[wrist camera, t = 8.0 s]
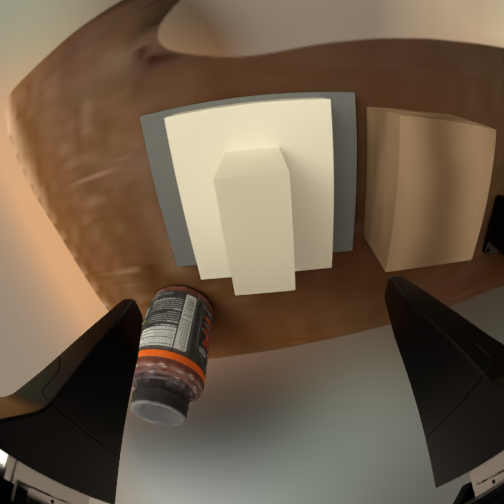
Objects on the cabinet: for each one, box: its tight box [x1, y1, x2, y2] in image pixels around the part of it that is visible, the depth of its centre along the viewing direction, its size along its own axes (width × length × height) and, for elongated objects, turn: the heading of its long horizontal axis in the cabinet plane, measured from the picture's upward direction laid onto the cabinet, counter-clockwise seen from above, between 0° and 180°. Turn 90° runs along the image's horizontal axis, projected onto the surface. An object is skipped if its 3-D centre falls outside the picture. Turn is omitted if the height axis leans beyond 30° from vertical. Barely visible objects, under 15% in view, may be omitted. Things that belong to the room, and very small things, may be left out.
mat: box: [140, 92, 357, 267], centre depth 19 cm, size 14×12×1 cm
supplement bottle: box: [130, 286, 213, 426], centre depth 21 cm, size 6×6×11 cm
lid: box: [164, 98, 334, 295], centre depth 16 cm, size 9×11×8 cm
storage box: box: [363, 107, 496, 272], centre depth 16 cm, size 8×10×5 cm
